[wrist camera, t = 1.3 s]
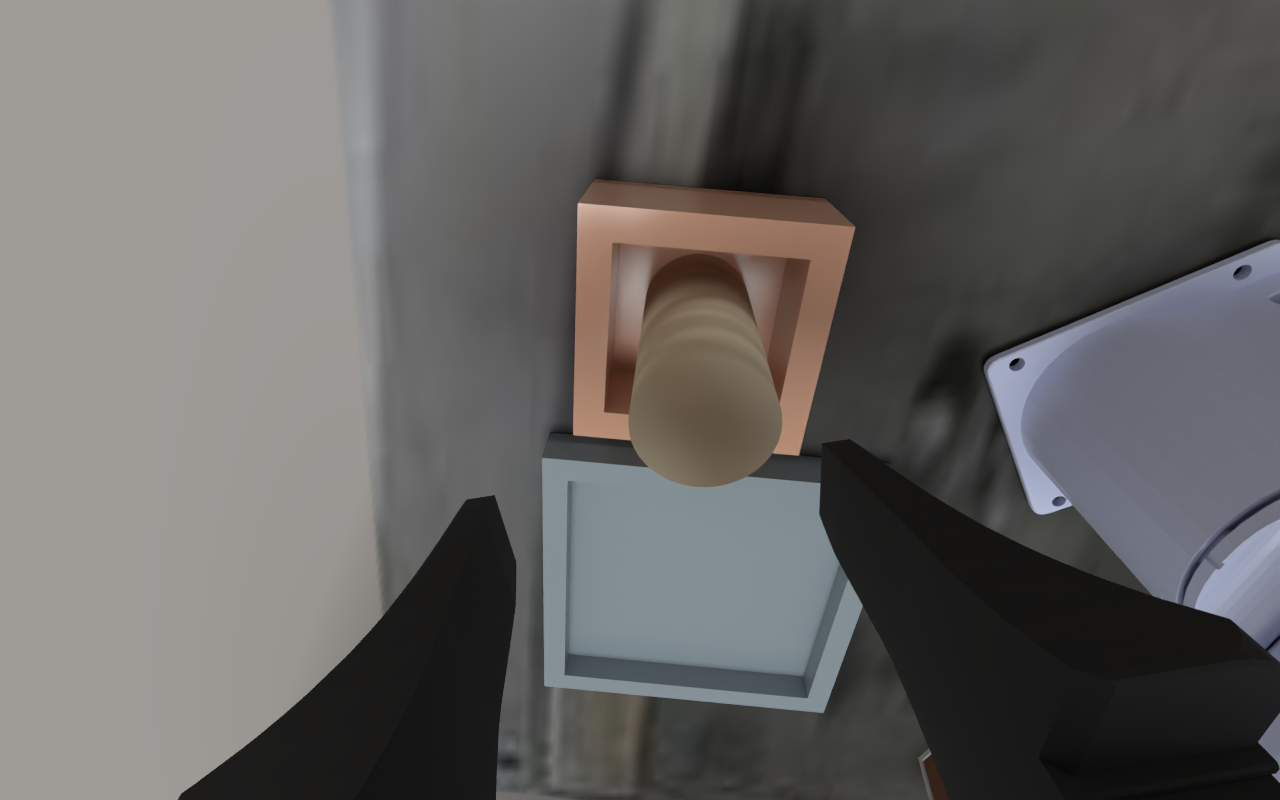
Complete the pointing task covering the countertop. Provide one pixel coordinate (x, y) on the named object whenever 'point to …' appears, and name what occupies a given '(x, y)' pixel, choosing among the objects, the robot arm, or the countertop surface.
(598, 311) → the terracotta square open box
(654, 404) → the beech dowel
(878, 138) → the countertop surface
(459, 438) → the countertop surface
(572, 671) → the slate tray
